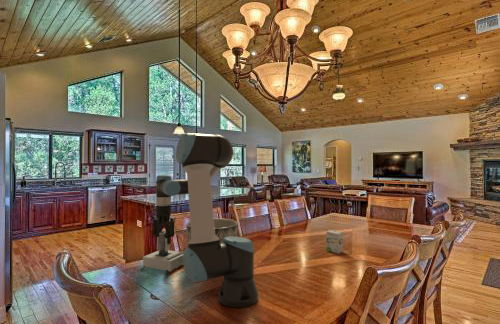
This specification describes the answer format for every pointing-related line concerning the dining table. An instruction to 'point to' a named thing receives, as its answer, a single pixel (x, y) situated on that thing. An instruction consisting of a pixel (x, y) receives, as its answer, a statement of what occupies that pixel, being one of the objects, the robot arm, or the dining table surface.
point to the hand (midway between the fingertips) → (163, 249)
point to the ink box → (334, 241)
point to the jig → (164, 260)
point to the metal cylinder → (162, 244)
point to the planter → (219, 229)
